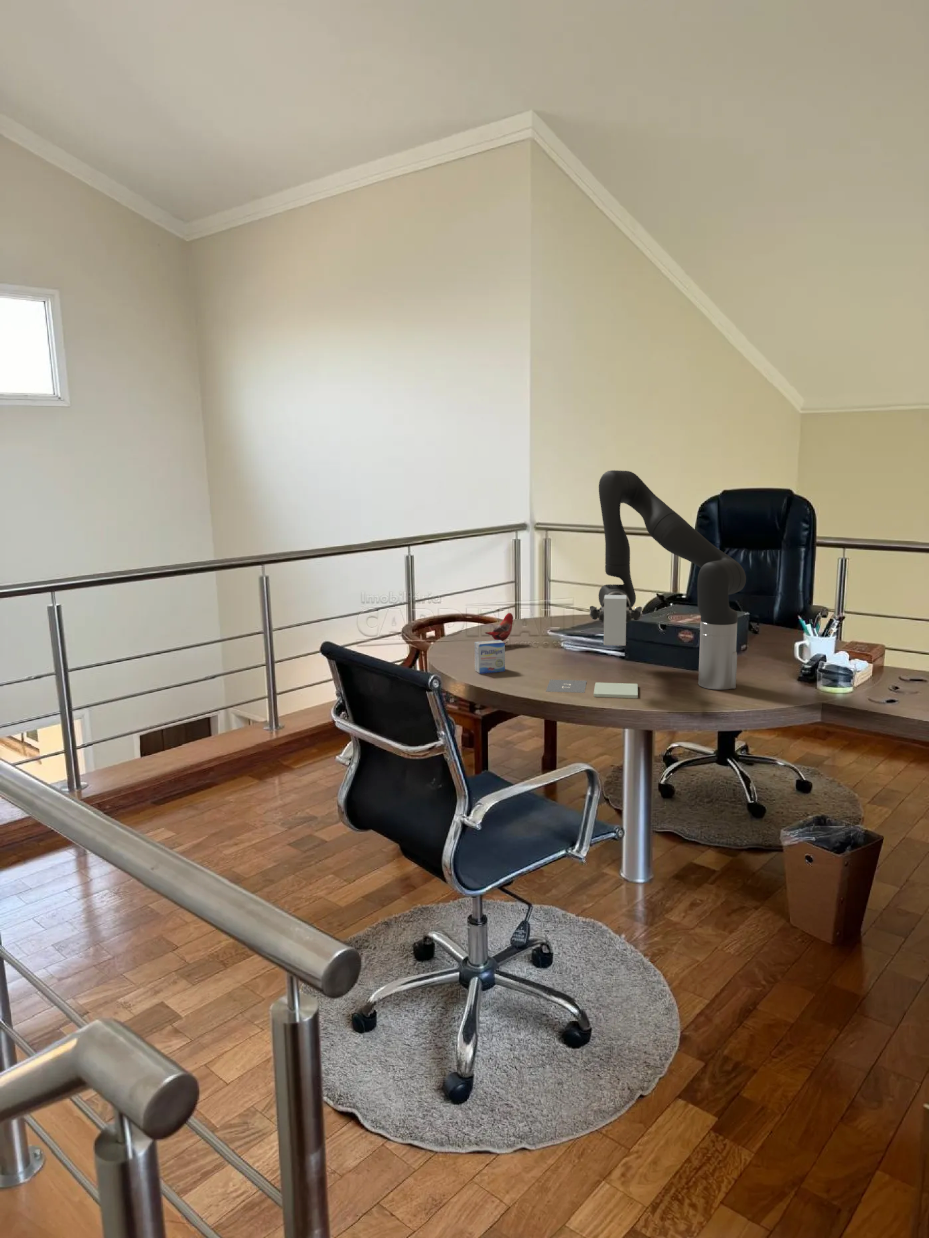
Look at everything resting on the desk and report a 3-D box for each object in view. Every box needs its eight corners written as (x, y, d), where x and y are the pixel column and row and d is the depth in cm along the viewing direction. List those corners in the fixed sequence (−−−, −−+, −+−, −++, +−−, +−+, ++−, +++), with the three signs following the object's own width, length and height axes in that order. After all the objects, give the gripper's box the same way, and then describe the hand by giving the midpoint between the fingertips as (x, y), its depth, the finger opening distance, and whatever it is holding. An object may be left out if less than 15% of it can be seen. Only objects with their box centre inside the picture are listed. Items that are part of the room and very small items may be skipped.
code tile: (586, 681, 236) (586, 680, 236) (584, 693, 224) (584, 692, 224) (550, 680, 238) (550, 679, 238) (545, 692, 226) (545, 691, 226)
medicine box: (478, 674, 246) (478, 644, 244) (474, 670, 250) (474, 641, 248) (505, 671, 248) (505, 642, 246) (500, 668, 252) (500, 639, 250)
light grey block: (625, 640, 225) (626, 595, 222) (625, 645, 219) (626, 598, 217) (604, 640, 226) (604, 594, 223) (603, 645, 220) (604, 598, 218)
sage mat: (637, 687, 229) (637, 683, 229) (637, 699, 218) (637, 695, 218) (595, 686, 231) (595, 682, 231) (593, 697, 221) (593, 693, 220)
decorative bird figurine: (517, 641, 287) (517, 612, 285) (489, 652, 272) (488, 621, 270) (509, 640, 288) (509, 611, 286) (481, 651, 274) (480, 620, 272)
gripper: (589, 592, 236) (586, 603, 220) (643, 593, 233) (644, 604, 217) (589, 619, 237) (586, 632, 221) (642, 620, 235) (643, 633, 218)
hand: (615, 618), depth 219 cm, fingers closed on light grey block, 5 cm apart
